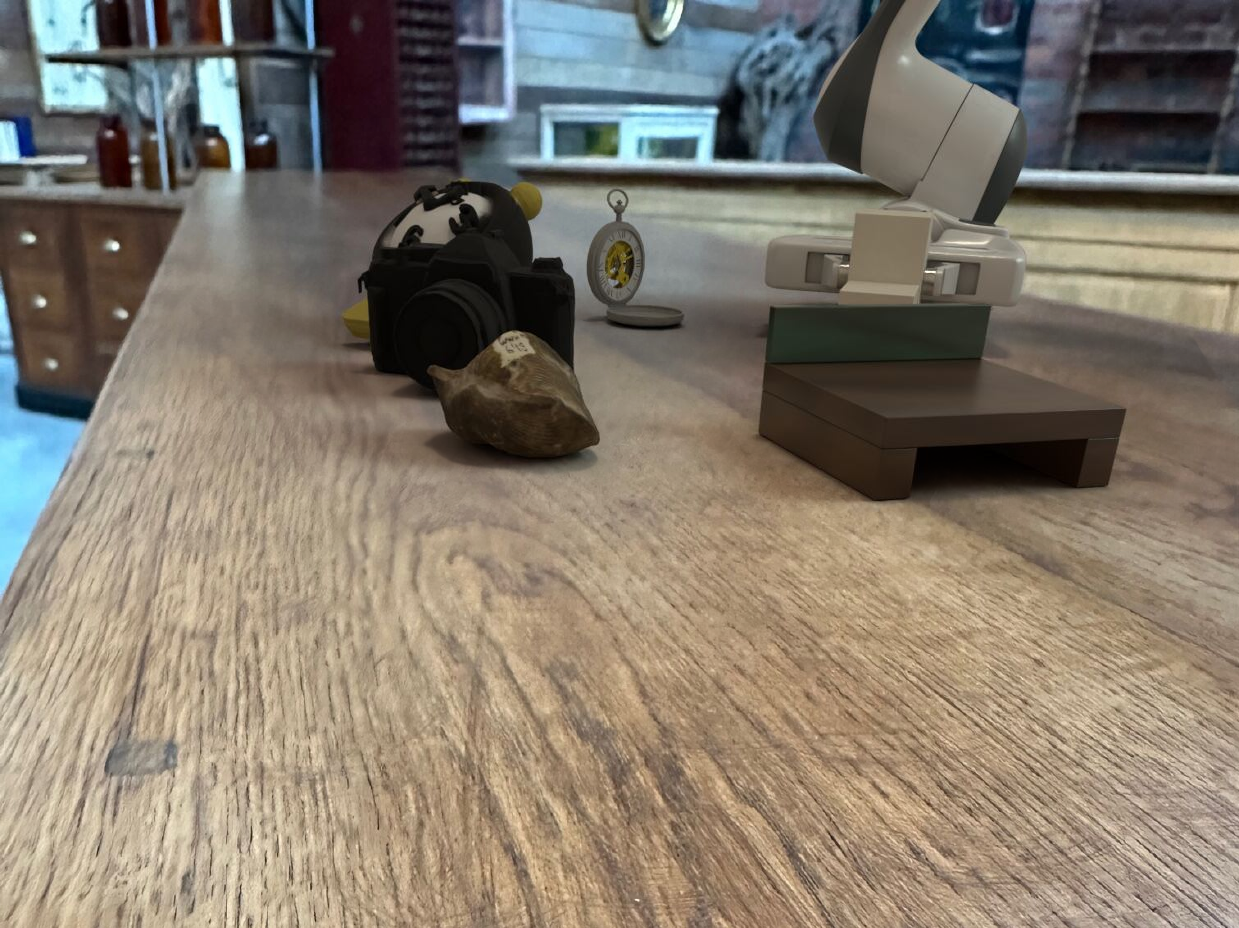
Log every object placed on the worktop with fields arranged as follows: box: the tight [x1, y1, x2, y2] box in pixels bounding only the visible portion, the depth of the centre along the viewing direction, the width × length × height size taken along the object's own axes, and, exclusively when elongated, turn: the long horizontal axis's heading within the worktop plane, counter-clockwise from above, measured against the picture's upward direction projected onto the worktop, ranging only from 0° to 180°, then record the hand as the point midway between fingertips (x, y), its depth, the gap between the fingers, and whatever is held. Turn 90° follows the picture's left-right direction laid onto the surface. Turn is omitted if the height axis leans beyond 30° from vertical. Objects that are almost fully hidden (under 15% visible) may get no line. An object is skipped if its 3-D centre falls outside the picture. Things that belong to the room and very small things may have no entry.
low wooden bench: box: [757, 303, 1128, 501], centre depth 66 cm, size 14×14×7 cm
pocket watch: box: [586, 187, 685, 328], centre depth 102 cm, size 8×8×10 cm
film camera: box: [357, 228, 576, 392], centre depth 78 cm, size 15×10×9 cm, turn 73°
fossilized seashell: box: [427, 331, 601, 458], centre depth 65 cm, size 8×7×10 cm
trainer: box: [837, 207, 934, 305], centre depth 90 cm, size 12×6×10 cm, turn 165°
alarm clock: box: [341, 177, 543, 341], centre depth 93 cm, size 12×15×15 cm
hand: (886, 280), depth 92 cm, fingers closed on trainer, 5 cm apart
